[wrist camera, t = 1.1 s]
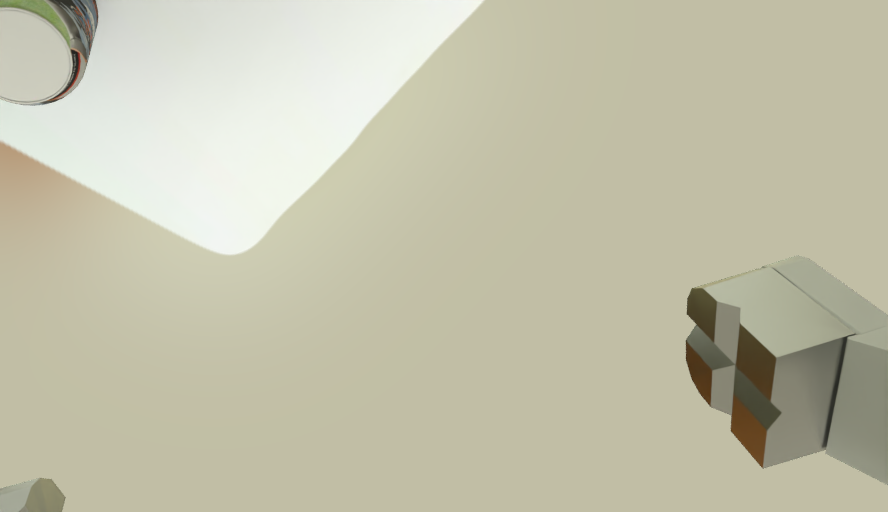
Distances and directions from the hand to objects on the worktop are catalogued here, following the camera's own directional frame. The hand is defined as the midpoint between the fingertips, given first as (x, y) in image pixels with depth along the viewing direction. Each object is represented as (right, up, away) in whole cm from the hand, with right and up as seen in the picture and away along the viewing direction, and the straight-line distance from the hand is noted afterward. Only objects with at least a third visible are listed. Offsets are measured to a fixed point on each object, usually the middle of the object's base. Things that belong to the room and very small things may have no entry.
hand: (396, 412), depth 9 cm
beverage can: (-25, +19, +35) cm, 47 cm away
